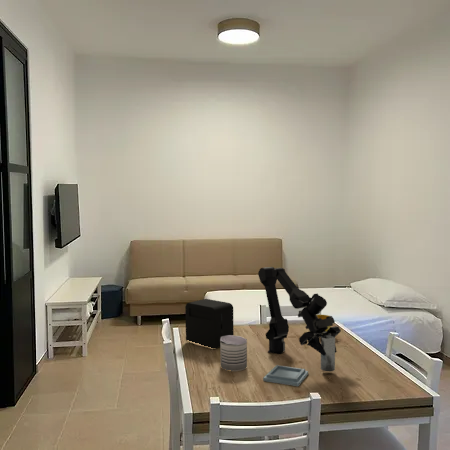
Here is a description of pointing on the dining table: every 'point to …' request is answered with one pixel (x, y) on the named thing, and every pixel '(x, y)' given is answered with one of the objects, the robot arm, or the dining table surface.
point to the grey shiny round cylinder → (328, 353)
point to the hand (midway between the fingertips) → (330, 353)
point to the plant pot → (323, 318)
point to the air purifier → (208, 321)
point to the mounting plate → (286, 375)
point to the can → (233, 352)
